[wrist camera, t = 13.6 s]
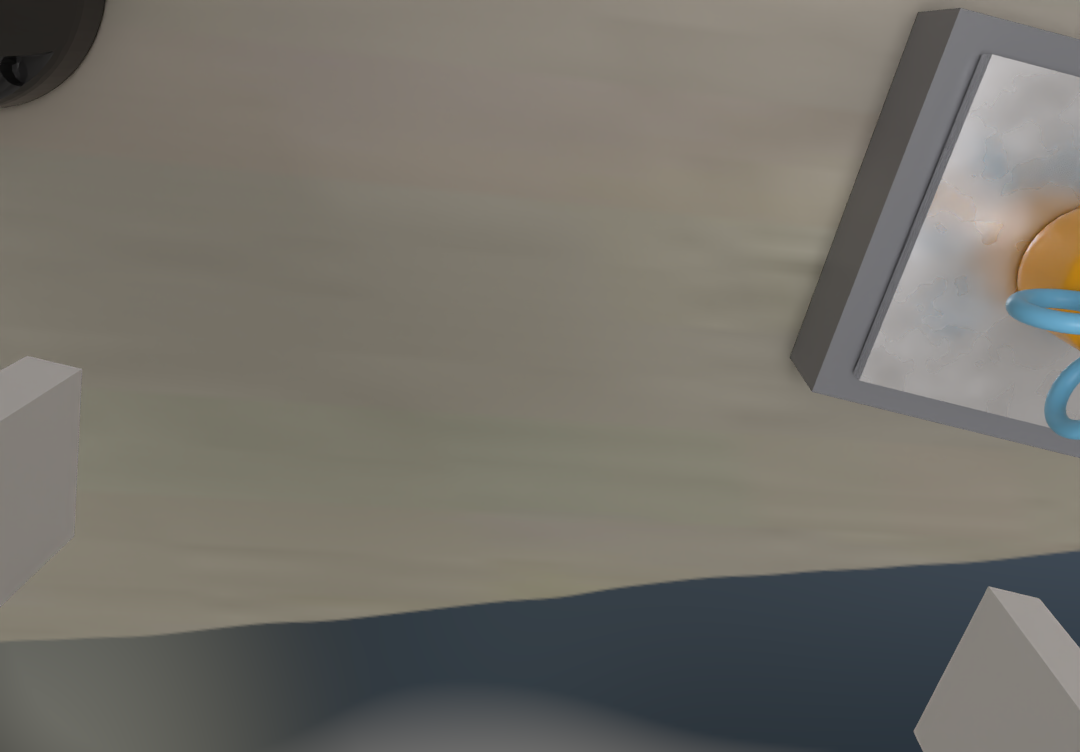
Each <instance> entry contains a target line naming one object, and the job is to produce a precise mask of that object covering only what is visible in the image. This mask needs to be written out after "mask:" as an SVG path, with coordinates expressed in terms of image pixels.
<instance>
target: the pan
mask: <svg viewBox="0 0 1080 752" xmlns="http://www.w3.org/2000/svg"><path fill="white" fill-rule="evenodd" d="M1079 208H1080V77H1077V76H1073V75H1069V74H1065V73H1062V72H1058V71H1054V70H1050V69H1046V68H1043V67H1039V66H1035V65H1031V64H1027V63H1024V62H1020V61H1016V60H1012V59H1009V58H1005V57H1001V56H997V55H993V54H982V55H981V58H980V60H979V63H978V65H977V68H976V70H975V73H974V75H973V78H972V80H971V83H970V85H969V88H968V90H967V92H966V95H965V97H964V100H963V102H962V105H961V107H960V110H959V112H958V115H957V117H956V120H955V122H954V125H953V127H952V130H951V132H950V135H949V137H948V140H947V142H946V144H945V147H944V149H943V152H942V154H941V157H940V159H939V162H938V164H937V167H936V169H935V172H934V174H933V177H932V179H931V182H930V184H929V187H928V189H927V192H926V194H925V197H924V199H923V201H922V204H921V206H920V209H919V211H918V214H917V216H916V219H915V221H914V224H913V226H912V229H911V231H910V234H909V236H908V239H907V241H906V244H905V246H904V249H903V251H902V254H901V256H900V258H899V261H898V263H897V266H896V268H895V271H894V273H893V276H892V278H891V281H890V283H889V286H888V288H887V291H886V293H885V296H884V298H883V301H882V303H881V306H880V308H879V310H878V313H877V315H876V318H875V320H874V323H873V325H872V328H871V330H870V333H869V335H868V338H867V340H866V343H865V345H864V348H863V350H862V353H861V355H860V358H859V360H858V363H857V365H856V367H855V370H854V372H853V373H854V375H855V376H856V377H857V378H858V380H859V381H863V382H867V383H871V384H875V385H879V386H883V387H887V388H891V389H895V390H899V391H903V392H908V393H912V394H916V395H920V396H924V397H928V398H932V399H936V400H940V401H944V402H948V403H952V404H956V405H960V406H964V407H968V408H972V409H976V410H980V411H984V412H988V413H992V414H996V415H1000V416H1004V417H1008V418H1012V419H1016V420H1020V421H1024V422H1028V423H1032V424H1036V425H1040V426H1045V427H1049V426H1048V424H1047V422H1046V419H1045V414H1044V406H1045V400H1046V397H1047V394H1048V392H1049V390H1050V388H1051V386H1052V384H1053V383H1054V381H1055V380H1056V378H1057V377H1058V376H1059V375H1060V373H1061V372H1062V371H1063V370H1064V369H1065V368H1066V367H1067V366H1068V365H1069V364H1071V363H1072V362H1073V361H1074V360H1076V359H1077V358H1079V357H1080V351H1079V350H1077V349H1076V348H1074V347H1072V346H1071V345H1069V344H1068V343H1066V342H1064V341H1063V340H1061V339H1059V338H1058V337H1056V336H1055V335H1053V334H1051V333H1050V332H1048V331H1046V330H1044V329H1040V328H1036V327H1033V326H1030V325H1027V324H1024V323H1022V322H1020V321H1018V320H1016V319H1014V318H1013V317H1011V316H1010V315H1009V314H1008V312H1007V310H1006V307H1005V304H1006V301H1007V299H1008V297H1009V296H1011V295H1012V294H1014V293H1016V292H1018V287H1017V278H1018V269H1019V265H1020V262H1021V259H1022V256H1023V255H1024V253H1025V251H1026V249H1027V247H1028V245H1029V244H1030V243H1031V242H1032V240H1033V239H1034V238H1035V236H1036V235H1037V234H1038V233H1039V232H1040V231H1041V230H1042V229H1043V228H1044V227H1045V226H1046V225H1048V224H1049V223H1051V222H1052V221H1054V220H1055V219H1056V218H1058V217H1059V216H1062V215H1064V214H1066V213H1068V212H1070V211H1072V210H1076V209H1079ZM1066 414H1067V416H1068V417H1069V418H1070V419H1072V420H1080V383H1079V384H1078V385H1077V386H1076V388H1075V389H1074V390H1073V392H1072V393H1071V395H1070V397H1069V399H1068V402H1067V406H1066ZM1049 428H1050V427H1049Z"/></svg>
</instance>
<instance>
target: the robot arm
mask: <svg viewBox="0 0 1080 752" xmlns="http://www.w3.org/2000/svg"><path fill="white" fill-rule="evenodd" d="M104 1H105V0H0V108H2V107H10V106H15V105H19V104H23V103H26V102H29V101H31V100H34V99H36V98H38V97H40V96H42V95H44V94H46V93H48V92H49V91H51V90H53V89H54V88H55V87H57V86H58V85H59V84H61V83H62V82H63V81H64V80H65V79H66V78H68V77H69V76H70V75H71V73H72V72H73V71H74V70H75V69H76V68H77V66H78V65H79V64H80V63H81V61H82V60H83V58H84V57H85V55H86V53H87V52H88V50H89V48H90V46H91V44H92V42H93V40H94V38H95V35H96V33H97V30H98V27H99V24H100V21H101V17H102V12H103V7H104ZM81 384H82V369H80V368H76V367H72V366H68V365H64V364H60V363H55V362H51V361H47V360H43V359H39V358H35V357H30V356H26V357H24V358H22V359H20V360H18V361H17V362H15V363H13V364H11V365H9V366H8V367H6V368H4V369H2V370H0V607H1V606H2V605H3V604H4V603H5V602H6V601H7V600H8V599H9V598H10V597H11V596H12V595H13V594H14V593H15V592H16V591H17V590H18V589H19V588H21V587H22V586H23V585H24V584H25V583H26V582H27V581H28V580H29V579H30V578H31V577H32V576H33V575H34V574H35V573H36V572H37V571H38V570H39V569H40V568H41V567H42V566H44V565H45V564H46V563H47V562H48V561H49V560H50V559H51V558H52V557H53V556H54V555H55V554H56V553H57V552H58V551H59V550H60V549H61V548H62V547H63V546H64V545H66V544H67V543H68V542H69V541H70V540H71V539H72V538H73V537H74V530H75V509H76V488H77V467H78V447H79V426H80V405H81ZM914 733H915V736H916V738H917V740H918V742H919V744H920V746H921V748H922V750H923V752H1080V648H1079V647H1078V646H1077V644H1076V643H1075V642H1074V641H1073V639H1072V638H1071V637H1070V636H1069V635H1068V633H1067V632H1066V631H1065V630H1064V628H1063V627H1062V626H1061V625H1060V624H1059V622H1058V621H1057V620H1056V619H1055V617H1054V616H1053V615H1052V614H1051V612H1050V611H1049V610H1048V609H1047V608H1046V606H1045V605H1044V604H1043V603H1042V601H1041V600H1040V599H1039V598H1035V597H1030V596H1026V595H1022V594H1018V593H1014V592H1010V591H1006V590H1001V589H997V588H993V587H988V588H987V590H986V592H985V594H984V596H983V598H982V600H981V602H980V604H979V606H978V608H977V610H976V612H975V613H974V615H973V617H972V619H971V621H970V623H969V625H968V627H967V629H966V631H965V633H964V635H963V637H962V639H961V641H960V643H959V645H958V646H957V648H956V650H955V652H954V654H953V656H952V658H951V660H950V662H949V664H948V666H947V668H946V670H945V672H944V674H943V676H942V677H941V679H940V681H939V683H938V685H937V687H936V689H935V691H934V693H933V695H932V697H931V699H930V701H929V703H928V705H927V707H926V708H925V710H924V712H923V714H922V716H921V718H920V720H919V722H918V724H917V726H916V728H915V730H914Z"/></svg>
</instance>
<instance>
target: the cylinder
mask: <svg viewBox="0 0 1080 752" xmlns="http://www.w3.org/2000/svg"><path fill="white" fill-rule="evenodd" d="M1017 287H1018V292H1016V293H1014V294H1012V295H1011V296H1009V297H1008V299H1007V301H1006V304H1005V307H1006V310H1007V312H1008V314H1009V315H1010V316H1011V317H1013V318H1014V319H1016V320H1018V321H1020V322H1022V323H1024V324H1027V325H1030V326H1033V327H1036V328H1040V329H1044V330H1046V331H1048V332H1050V333H1051V334H1053V335H1055V336H1056V337H1058V338H1059V339H1061V340H1063V341H1064V342H1066V343H1068V344H1069V345H1071V346H1072V347H1074V348H1076V349H1077V350H1079V351H1080V208H1079V209H1076V210H1072V211H1070V212H1068V213H1066V214H1064V215H1062V216H1059V217H1058V218H1056V219H1055V220H1054V221H1052V222H1051V223H1049V224H1048V225H1046V226H1045V227H1044V228H1043V229H1042V230H1041V231H1040V232H1039V233H1038V234H1037V235H1036V236H1035V238H1034V239H1033V240H1032V242H1031V243H1030V244H1029V245H1028V247H1027V249H1026V251H1025V253H1024V255H1023V256H1022V259H1021V262H1020V265H1019V269H1018V278H1017ZM1079 383H1080V357H1079V358H1077V359H1076V360H1074V361H1073V362H1072V363H1071V364H1069V365H1068V366H1067V367H1066V368H1065V369H1064V370H1063V371H1062V372H1061V373H1060V375H1059V376H1058V377H1057V378H1056V380H1055V381H1054V383H1053V384H1052V386H1051V388H1050V390H1049V392H1048V394H1047V397H1046V400H1045V406H1044V414H1045V419H1046V422H1047V424H1048V426H1049V427H1050V428H1051V429H1052V431H1054V432H1055V433H1056V434H1058V435H1059V436H1062V437H1064V438H1067V439H1074V440H1080V420H1072V419H1070V418H1069V417H1068V416H1067V414H1066V406H1067V402H1068V399H1069V397H1070V395H1071V393H1072V392H1073V390H1074V389H1075V388H1076V386H1077V385H1078V384H1079Z"/></svg>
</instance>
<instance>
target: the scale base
mask: <svg viewBox="0 0 1080 752" xmlns="http://www.w3.org/2000/svg"><path fill="white" fill-rule="evenodd" d="M982 54H993V55H997V56H1001V57H1005V58H1009V59H1012V60H1016V61H1020V62H1024V63H1027V64H1031V65H1035V66H1039V67H1043V68H1046V69H1050V70H1054V71H1058V72H1062V73H1065V74H1069V75H1073V76H1077V77H1080V40H1079V39H1076V38H1072V37H1068V36H1064V35H1061V34H1057V33H1053V32H1049V31H1045V30H1042V29H1038V28H1034V27H1030V26H1027V25H1023V24H1019V23H1015V22H1012V21H1008V20H1004V19H1000V18H997V17H993V16H989V15H985V14H981V13H978V12H974V11H970V10H966V9H963V8H956V9H946V10H936V11H926V12H918V15H917V17H916V20H915V23H914V25H913V28H912V31H911V34H910V36H909V39H908V42H907V44H906V47H905V50H904V52H903V55H902V58H901V60H900V63H899V66H898V69H897V71H896V74H895V77H894V79H893V82H892V85H891V87H890V90H889V93H888V95H887V98H886V101H885V103H884V106H883V109H882V112H881V114H880V117H879V120H878V122H877V125H876V128H875V130H874V133H873V136H872V138H871V141H870V144H869V146H868V149H867V152H866V155H865V157H864V160H863V163H862V165H861V168H860V171H859V173H858V176H857V179H856V181H855V184H854V187H853V190H852V192H851V195H850V198H849V200H848V203H847V206H846V208H845V211H844V214H843V216H842V219H841V222H840V224H839V227H838V230H837V233H836V235H835V238H834V241H833V243H832V246H831V249H830V251H829V254H828V257H827V259H826V262H825V265H824V267H823V270H822V273H821V276H820V278H819V281H818V284H817V286H816V289H815V292H814V294H813V297H812V300H811V302H810V305H809V308H808V311H807V313H806V316H805V319H804V321H803V324H802V327H801V329H800V332H799V335H798V337H797V340H796V343H795V345H794V348H793V351H792V354H791V356H790V358H791V360H792V362H793V363H794V365H795V366H796V368H797V369H798V371H799V372H800V374H801V376H802V377H803V379H804V380H805V382H806V383H807V385H808V386H809V388H810V389H811V391H812V392H815V393H819V394H823V395H827V396H831V397H835V398H840V399H844V400H848V401H852V402H856V403H860V404H864V405H868V406H872V407H876V408H880V409H884V410H888V411H892V412H896V413H900V414H904V415H908V416H912V417H916V418H920V419H924V420H929V421H933V422H937V423H941V424H945V425H949V426H953V427H957V428H961V429H965V430H969V431H973V432H977V433H981V434H985V435H989V436H993V437H997V438H1001V439H1005V440H1009V441H1014V442H1018V443H1022V444H1026V445H1030V446H1034V447H1038V448H1042V449H1046V450H1050V451H1054V452H1058V453H1062V454H1066V455H1070V456H1074V457H1078V458H1080V440H1074V439H1067V438H1064V437H1062V436H1059V435H1058V434H1056V433H1055V432H1054V431H1052V429H1051V428H1049V427H1045V426H1040V425H1036V424H1032V423H1028V422H1024V421H1020V420H1016V419H1012V418H1008V417H1004V416H1000V415H996V414H992V413H988V412H984V411H980V410H976V409H972V408H968V407H964V406H960V405H956V404H952V403H948V402H944V401H940V400H936V399H932V398H928V397H924V396H920V395H916V394H912V393H908V392H903V391H899V390H895V389H891V388H887V387H883V386H879V385H875V384H871V383H867V382H863V381H859V380H858V378H857V377H856V376H855V375H854V373H853V372H854V370H855V367H856V365H857V363H858V360H859V358H860V355H861V353H862V350H863V348H864V345H865V343H866V340H867V338H868V335H869V333H870V330H871V328H872V325H873V323H874V320H875V318H876V315H877V313H878V310H879V308H880V306H881V303H882V301H883V298H884V296H885V293H886V291H887V288H888V286H889V283H890V281H891V278H892V276H893V273H894V271H895V268H896V266H897V263H898V261H899V258H900V256H901V254H902V251H903V249H904V246H905V244H906V241H907V239H908V236H909V234H910V231H911V229H912V226H913V224H914V221H915V219H916V216H917V214H918V211H919V209H920V206H921V204H922V201H923V199H924V197H925V194H926V192H927V189H928V187H929V184H930V182H931V179H932V177H933V174H934V172H935V169H936V167H937V164H938V162H939V159H940V157H941V154H942V152H943V149H944V147H945V144H946V142H947V140H948V137H949V135H950V132H951V130H952V127H953V125H954V122H955V120H956V117H957V115H958V112H959V110H960V107H961V105H962V102H963V100H964V97H965V95H966V92H967V90H968V88H969V85H970V83H971V80H972V78H973V75H974V73H975V70H976V68H977V65H978V63H979V60H980V58H981V55H982Z"/></svg>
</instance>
